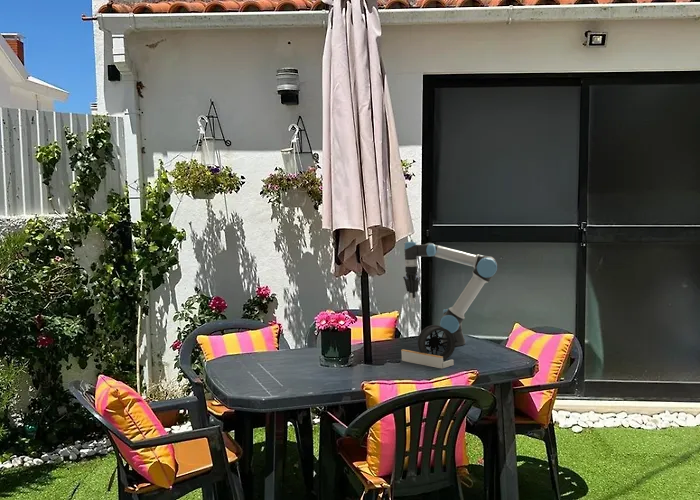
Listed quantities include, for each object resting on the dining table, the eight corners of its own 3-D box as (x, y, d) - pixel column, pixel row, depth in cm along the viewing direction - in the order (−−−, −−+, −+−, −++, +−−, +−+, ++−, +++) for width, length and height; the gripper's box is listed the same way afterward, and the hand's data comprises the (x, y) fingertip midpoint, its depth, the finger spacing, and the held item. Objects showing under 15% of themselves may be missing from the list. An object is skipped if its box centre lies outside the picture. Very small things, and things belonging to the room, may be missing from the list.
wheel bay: (413, 357, 389) (413, 346, 389) (453, 365, 366) (453, 353, 366) (401, 360, 383) (401, 349, 382) (442, 368, 359) (441, 356, 359)
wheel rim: (449, 356, 387) (448, 323, 386) (455, 359, 378) (454, 326, 377) (418, 360, 382) (416, 326, 381) (423, 363, 373) (422, 329, 372)
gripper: (399, 266, 413) (401, 302, 415) (414, 267, 403) (416, 304, 405) (407, 265, 418) (409, 301, 420) (422, 265, 408) (424, 302, 410)
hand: (412, 302), depth 412 cm, fingers closed
